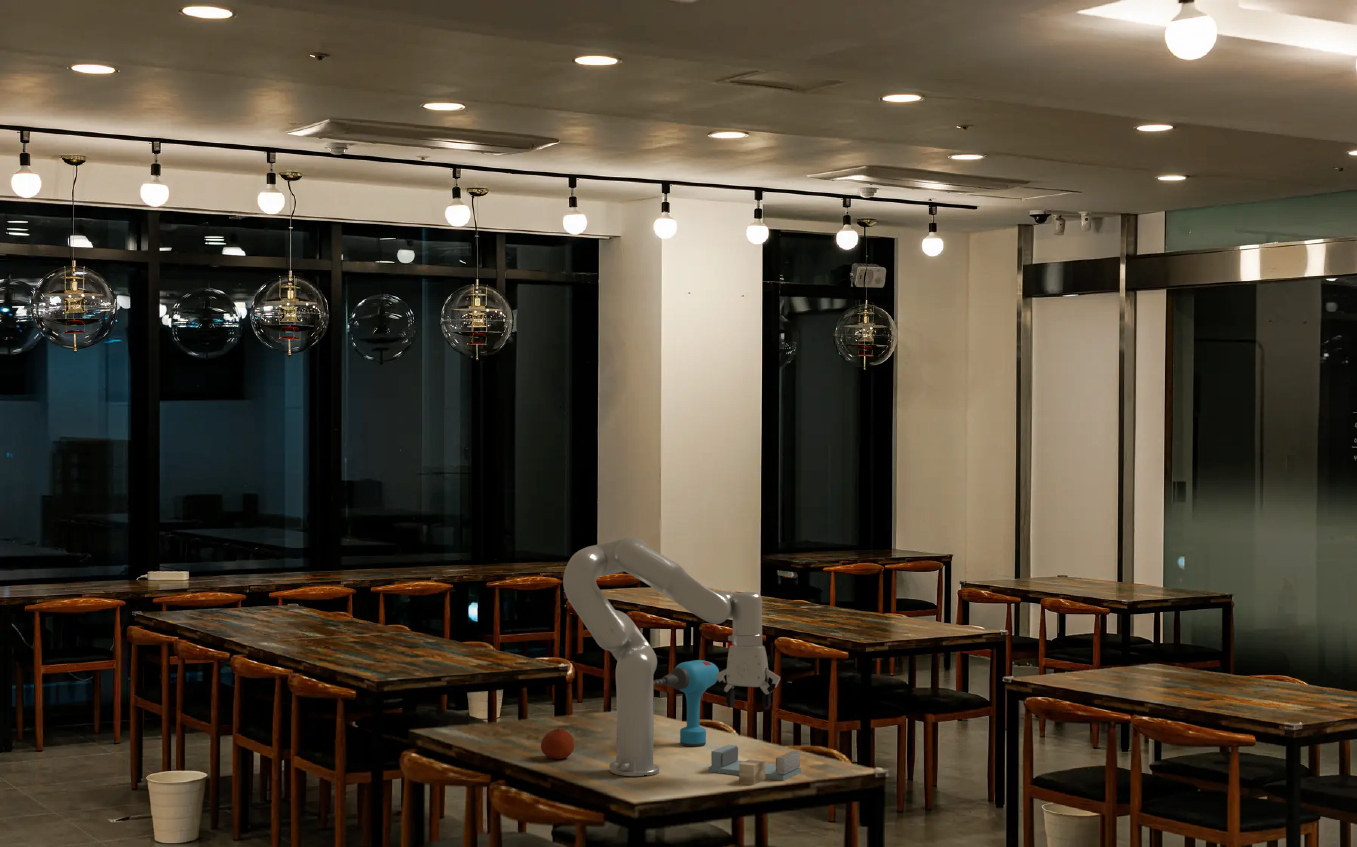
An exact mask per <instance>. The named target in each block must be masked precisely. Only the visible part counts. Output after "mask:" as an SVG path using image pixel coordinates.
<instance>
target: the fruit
mask: <svg viewBox="0 0 1357 847" xmlns="http://www.w3.org/2000/svg"><path fill="white" fill-rule="evenodd" d="M574 749H575V740H574V737H573V735H572V734H571V733H570V732H569V731H567V730H565V729H563V728H556V729H555V728H554V729H553V730H551V731H549V732H547V733H545V735H544V736H543V738H542V739H541V743H540V750H541V752H542V753H543V754H544V756H546V757H547V758H549V759H552V760H553V759H554V760H555V759H557V760H562V759H563V760H565V759H566V758H568V757H570V756H571V755H572V753H573V752H574Z"/></svg>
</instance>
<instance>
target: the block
mask: <svg viewBox="0 0 1357 847" xmlns="http://www.w3.org/2000/svg"><path fill="white" fill-rule="evenodd" d="M743 761H744V762H742V763H740V764H739V775H738V776H739V777H738V780H739V781H738V783H739V784H741V785H742V784H743V785H749V786H750V785H751V786H754V785H757V784H760V783H762V782H763V781H766V779H765V774H766V764H767V763H766V762H767V761H766V759H760V758H759V759H758V758H749V759H747V760H743Z"/></svg>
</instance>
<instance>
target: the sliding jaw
mask: <svg viewBox="0 0 1357 847" xmlns="http://www.w3.org/2000/svg"><path fill="white" fill-rule="evenodd" d="M775 765H776V772H777V774H786V773H788V772H790V771H792V770H795V769H797V768H801V751H799V750H791V751H788V752H786V753H784V754H782V755H779V756H777V757H776V758H775Z"/></svg>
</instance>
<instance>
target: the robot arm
mask: <svg viewBox="0 0 1357 847" xmlns="http://www.w3.org/2000/svg"><path fill="white" fill-rule="evenodd" d="M624 572H625V573H626V574H629V575H630V576H632V577H634V578H636V579H638V580H639V581H640V582H643V583H644V584H646V585H648V586H649V587H651V588H652V589H654V590H655V591H657V592H659V593H661V594H662V595H664V596H665V597H666V598H667V599H670V600H672V601H673V602H674V603H676V604H678V605H679V606H680V607H682V608H684V609H685V610H686V611H688V612H689V613H691V614H693V615H695V616H696V617H698V618H700V619H702V620H703V621H705V622H708V623H709V624H713V625H717V624H722V623H724V622H725V621H726V620H727V619H732V634H730V635H728V636H727V639H728V640H727V641H729V642H731V644H732V645H730V646H729V649H728V654H727V662H726V668H725V669H723V670H721V671H719V673H717V674H716V676H717V678H718V680H717V682H719V685H720V686H721V688H722V689H723V691H724V692H725V703H726V704H727V708H728V709H729V708H732V707H734V706H735V703H736V702H735V701H736V698H735V696H736V694H735V690H734V688H735V687H747V688H748V687H751V688H760V689H761V691H762V692H763V694H762V696H761V697H762V698H761V700H762V701H761V704H762V705H761V707H762V708H761V709H762V710H763V711H766V710H768V709H770V707H771V706H772V700H771V699H772V694H771V693H772V692H774V690H776V688H777V687H778V685H779V682H780V680H781V676H779V675H778V674H776V673H775V672H773V671H771V669H769V664H768V663H769V662H768V656H767V651H766V647H765V645H763V604H762V603H763V599H762V596H761V594H760V593H758V592H753V591H742V592H731V591H724V590H723V591H722V590H716V591H713V590H711V589H710V588H708V587H707V586H705V585H703V584H702V583H700V582H698V581H697V580H695V579H694V578H693V577H692V576H691V575H689V573H688V572H687V571H686V570H685V569H684V567H682V566H681V565H680V564H679V563H677V562H675V561H673V560H671V559H670V558H669V557H667V556H664V554H661V553H660V552H658V551H656V550H655V549H653V548H651V547H649V545H648V544H647V543H646V541H645V540H644V539H642V538H640V537H637V536H629V537H626V538H622V539H618V540H613V541H609V542H608V541H607V542H605V543H599V544H594V545H590V546H586V547H584V548H582V549H579V550H578V551H577V552H575V553H574V554H573V555H572V556H571V557H570V559H569V560H568V562H567V564H566V566H565V570H564V572H563V578H562V582H563V584H562V586H563V591H564V593H565V597H566V598H567V600H568V602H569V603H570V605H571V607H572V608H573V610H574V611H575V613H576V614H577V615H578V617H579V619H580V620H581V622H582V623H583V625H584V626H585V627H586V629H587V630H588V632H589V633H590V635H591V636H592V638H593V640H595V642H596V644H597V645H598V646H599V647H600V648H601V649H603V650H605V651H609V652H610V653H611V654H612V656H613V657H614V659H615V660H616V661H617V663H616V667H615V686H616V687H615V688H616V745H615V746H616V752H615V755H616V756H615V761H614V762H610V763H609V770H610V773H612V774H614V775H617V776H623V777H624V776H625V777H645V776H644V775H647V776H652V775H655V774H658V773H659V772H660V766H659V765H657V764H655V763H654V735H655V734H654V730H655V729H654V727H655V726H654V725H655V723H654V721H655V720H654V718H655V717H654V715H655V713H654V706H655V705H654V685H653V680H654V674H655V672H656V670H657V667H658V666H657V665H658V658H657V654H656V653H655V650H654V649H653V648H652V646H651V645H650V643H649V642H648V640H647V639H646V638H645V636H644V635H643V634H642V632H641V631H640V629H639V628H638V626H637V625H636V624H635V622H634V621H633V620H632V619H631V617H629V616H628V614H626V613H624V612H623V611H620V610H616V609H615V608H614V606H613V605H612V604H611V602H610V601H609V599H608V598H607V596H606V595H605V594H604V592H603V591H602V590H601V589H600V587H599V586H598V584H597V579H599V578H600V577H605V576H610V575H615V574H618V573H619V574H620V573H624ZM725 676H726V679H725ZM769 678H770V679H771V680H772V682H771V684H770V685H769V683H768V682H769Z"/></svg>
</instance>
